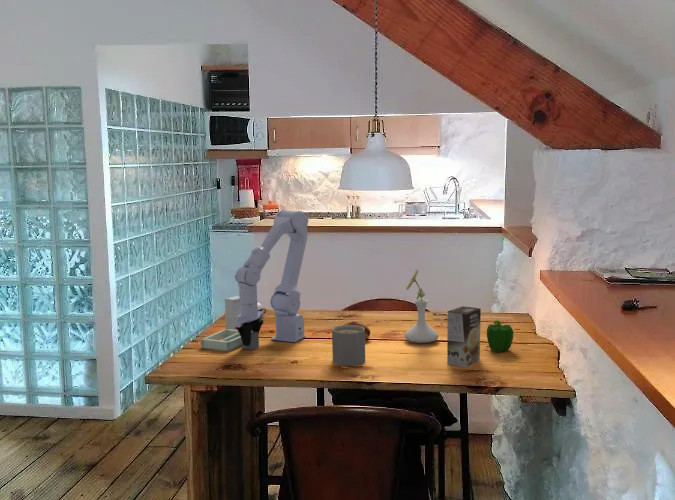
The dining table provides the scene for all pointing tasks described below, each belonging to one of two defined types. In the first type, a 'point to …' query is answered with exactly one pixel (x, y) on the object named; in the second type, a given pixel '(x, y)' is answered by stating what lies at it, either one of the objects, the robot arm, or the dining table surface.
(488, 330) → the bell pepper
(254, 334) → the grey block with knob
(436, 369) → the dining table surface
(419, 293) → the flower in vase
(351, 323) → the croissant
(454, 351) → the coffee box
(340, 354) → the coffee mug
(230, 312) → the skincare box
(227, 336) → the grey-green rectangular frame
